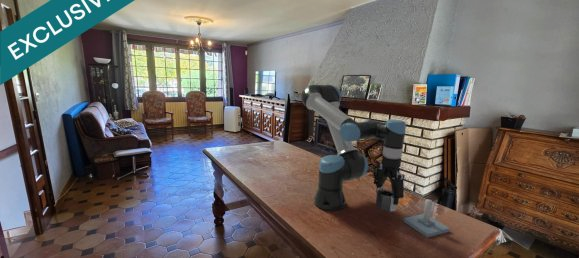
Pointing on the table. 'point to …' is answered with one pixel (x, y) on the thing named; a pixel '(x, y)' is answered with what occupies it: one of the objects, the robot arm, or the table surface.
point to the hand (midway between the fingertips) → (385, 205)
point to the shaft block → (426, 222)
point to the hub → (384, 199)
